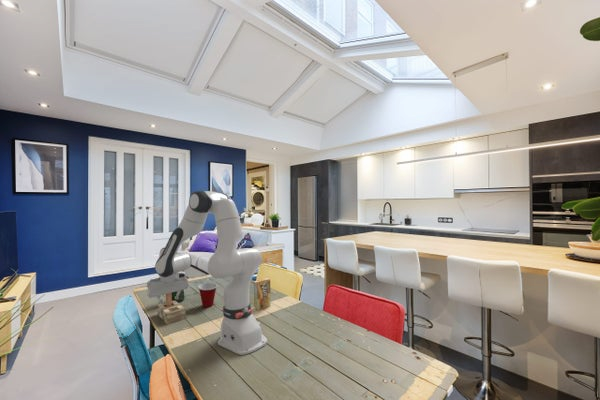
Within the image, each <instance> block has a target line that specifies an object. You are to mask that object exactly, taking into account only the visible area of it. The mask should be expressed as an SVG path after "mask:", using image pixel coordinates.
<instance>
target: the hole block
mask: <svg viewBox="0 0 600 400" xmlns="http://www.w3.org/2000/svg"><path fill="white" fill-rule="evenodd" d="M186 309H187V308H186V307H184V306H183V305H182V304H180V302H176V301H172V306H169V307H166V302H164V303H161V304H157V315H158V316H159V317H160V318H161V319H162V321H164V322H165V324H167V325H169V324H172V323H174V322H178V321H181V320H184V319H186V317H187V316H186V315H187V312H186V311H187V310H186Z"/></svg>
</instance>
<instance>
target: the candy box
mask: <svg viewBox="0 0 600 400" xmlns="http://www.w3.org/2000/svg"><path fill="white" fill-rule="evenodd" d="M270 306H271V279H269V278H262V279H259V280H254V281H253V308H254V309H255V310H257V311H258V310H261V309H265V308H267V307H270Z"/></svg>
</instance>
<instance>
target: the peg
mask: <svg viewBox="0 0 600 400" xmlns="http://www.w3.org/2000/svg"><path fill="white" fill-rule="evenodd" d="M165 303H166V307H169V306H172V293H168V294H165Z"/></svg>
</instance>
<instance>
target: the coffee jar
mask: <svg viewBox="0 0 600 400" xmlns="http://www.w3.org/2000/svg"><path fill="white" fill-rule="evenodd" d="M183 272H185V270H184V271H183ZM176 294H177V291H176V292H172V301H176V302H178V303H180V302H183V301H185V289H184V290H180V294H179V296H178V299H175V296H176Z"/></svg>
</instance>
